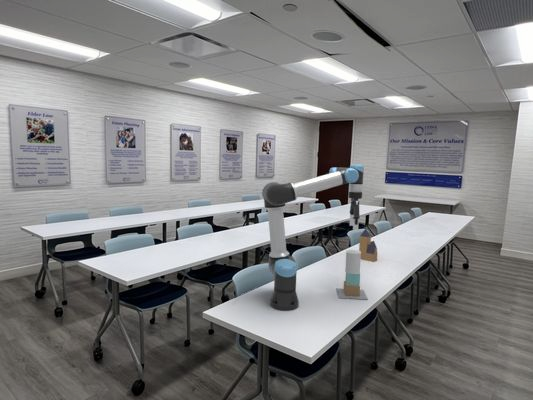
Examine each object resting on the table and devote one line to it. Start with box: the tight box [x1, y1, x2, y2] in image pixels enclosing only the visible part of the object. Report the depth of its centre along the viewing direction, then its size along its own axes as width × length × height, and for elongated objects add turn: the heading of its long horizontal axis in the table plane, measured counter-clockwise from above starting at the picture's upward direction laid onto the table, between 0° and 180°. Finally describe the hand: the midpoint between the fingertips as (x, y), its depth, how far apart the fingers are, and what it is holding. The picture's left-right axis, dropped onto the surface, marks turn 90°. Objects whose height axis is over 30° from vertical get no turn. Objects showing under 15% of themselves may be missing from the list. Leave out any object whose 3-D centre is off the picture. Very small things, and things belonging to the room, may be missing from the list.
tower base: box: [335, 280, 369, 301], centre depth 198 cm, size 16×14×7 cm
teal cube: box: [344, 272, 361, 287], centre depth 197 cm, size 7×7×7 cm
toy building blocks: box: [358, 228, 378, 263], centre depth 273 cm, size 12×19×25 cm, turn 137°
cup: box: [344, 249, 362, 274], centre depth 196 cm, size 8×8×12 cm
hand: (353, 227), depth 197 cm, fingers open, 13 cm apart
